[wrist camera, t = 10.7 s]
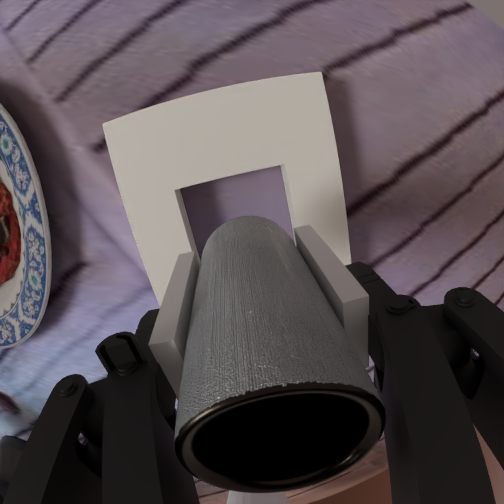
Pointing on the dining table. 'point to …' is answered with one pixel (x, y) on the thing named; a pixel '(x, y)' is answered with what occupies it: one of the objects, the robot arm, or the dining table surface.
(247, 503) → the cup
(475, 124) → the dining table surface
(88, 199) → the dining table surface
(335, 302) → the robot arm
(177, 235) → the notched board
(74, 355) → the dining table surface
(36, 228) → the ceramic plate
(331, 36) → the dining table surface
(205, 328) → the grey cylinder
